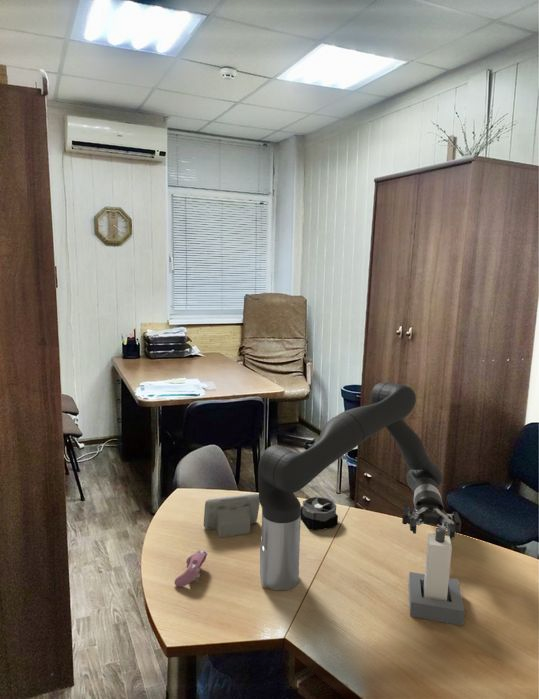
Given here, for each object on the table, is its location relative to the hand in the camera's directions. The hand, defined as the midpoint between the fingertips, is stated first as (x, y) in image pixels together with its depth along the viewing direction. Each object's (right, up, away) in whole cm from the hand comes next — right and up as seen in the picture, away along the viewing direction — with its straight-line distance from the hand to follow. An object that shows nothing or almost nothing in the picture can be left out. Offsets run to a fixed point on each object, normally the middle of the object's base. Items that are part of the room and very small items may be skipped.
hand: (432, 532), depth 121 cm
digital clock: (-51, -7, +22) cm, 56 cm away
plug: (-3, -13, -8) cm, 16 cm away
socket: (-3, -13, -8) cm, 16 cm away
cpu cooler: (-26, -7, +26) cm, 37 cm away
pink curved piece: (-59, -11, 0) cm, 60 cm away
